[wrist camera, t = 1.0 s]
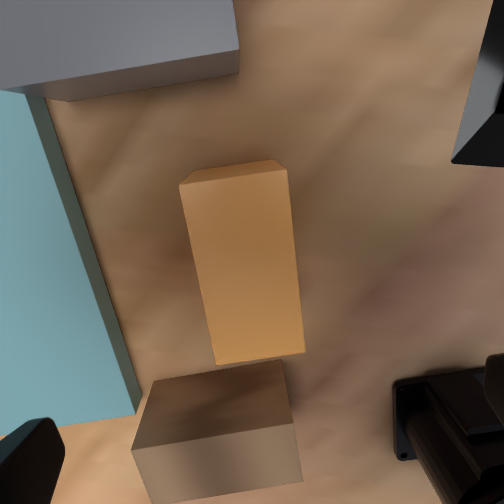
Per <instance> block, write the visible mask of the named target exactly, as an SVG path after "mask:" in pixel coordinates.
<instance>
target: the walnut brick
mask: <svg viewBox="0 0 504 504" xmlns="http://www.w3.org/2000/svg"><path fill="white" fill-rule="evenodd" d="M131 452H132V455H133V457H134V460H135V462H136V465H137V467H138V470H139V472H140V475H141V478H142V480H143V483H144V485H145V488H146V490H147V493H148V495H149V498H150V500H151V503H152V504H170V503H176V502H182V501H188V500H194V499H200V498H206V497H213V496H219V495H225V494H231V493H237V492H243V491H249V490H255V489H261V488H267V487H273V486H279V485H285V484H291V483H297V482H303V476H302V470H301V464H300V459H299V453H298V447H297V441H296V435H295V430H294V424H293V418H292V413H291V408H290V403H289V398H288V393H287V388H286V382H285V377H284V372H283V367H282V362H281V359H280V360H274V361H268V362H263V363H257V364H251V365H245V366H239V367H234V368H228V369H222V370H216V371H210V372H205V373H199V374H193V375H187V376H181V377H176V378H170V379H164V380H158V381H154V382H153V385H152V388H151V391H150V394H149V397H148V400H147V403H146V406H145V409H144V412H143V415H142V418H141V421H140V424H139V427H138V430H137V433H136V436H135V439H134V442H133V445H132V448H131Z"/></svg>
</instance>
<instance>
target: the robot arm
mask: <svg viewBox="0 0 504 504" xmlns="http://www.w3.org/2000/svg"><path fill="white" fill-rule="evenodd" d="M403 388H404V389H403ZM401 389H403V390H401ZM393 417H394V453H395V455H396V457H397V459H398V460H400V461H406V460H413V459H418V460H419V462H420V464H421V466H422V468H423V469H424V471H425V473H426V475H427V477H428V478H429V480H430V482H431V484H432V486H433V487H434V489H435V491H436V493H437V495H438V496H439V498H440V500H441V502H442V504H504V353H500V354H493V355H490V356H488V358H487V359H486V365H485V368H480V369H473V370H467V371H460V372H454V373H447V374H441V375H434V376H428V377H422V378H415V379H409V380H402V381H398V382H397V383H395V384H394V386H393ZM64 457H65V446H64V443H63V441H62V438H61V436H60V434H59V431H58V429H57V427H56V424H55V422H54V420H53V419H51V418H50V417H43V418H36V419H31V420H28V421H26V422H25V423H24V424H22V425H21V426H19V427H18V428H17V429H15V430H14V431H13V432H11V433H10V434H9V435H7V436H6V437H5V438H3V439H2V440H0V504H50V503H51V500H52V496H53V493H54V490H55V487H56V484H57V480H58V477H59V474H60V471H61V468H62V464H63V461H64Z"/></svg>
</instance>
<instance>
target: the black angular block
mask: <svg viewBox="0 0 504 504" xmlns="http://www.w3.org/2000/svg"><path fill="white" fill-rule="evenodd" d="M451 162H452V163H453V164H462V165H476V166H490V167H504V0H493V4H492V8H491V11H490V15H489V19H488V23H487V27H486V30H485V34H484V38H483V42H482V45H481V49H480V53H479V57H478V61H477V64H476V68H475V72H474V76H473V79H472V83H471V87H470V91H469V95H468V98H467V102H466V106H465V110H464V113H463V117H462V121H461V125H460V129H459V132H458V136H457V140H456V144H455V147H454V151H453V155H452V159H451Z"/></svg>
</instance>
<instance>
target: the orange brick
mask: <svg viewBox="0 0 504 504" xmlns="http://www.w3.org/2000/svg"><path fill="white" fill-rule="evenodd" d="M178 186H179V191H180V196H181V200H182V205H183V210H184V215H185V219H186V224H187V229H188V234H189V238H190V243H191V248H192V252H193V257H194V262H195V267H196V271H197V276H198V281H199V286H200V290H201V295H202V300H203V305H204V309H205V314H206V319H207V324H208V328H209V333H210V338H211V343H212V347H213V352H214V357H215V362H216V365H222V364H229V363H236V362H243V361H250V360H256V359H263V358H270V357H277V356H284V355H291V354H298V353H305V352H306V351H305V341H304V331H303V322H302V312H301V302H300V293H299V283H298V273H297V263H296V254H295V244H294V234H293V225H292V215H291V205H290V196H289V186H288V176H287V169H286V168H284V167H283V166H282V165H280V164H279V163H278V162H276V161H275V160H273V159H272V160H265V161H258V162H251V163H245V164H238V165H231V166H224V167H218V168H211V169H204V170H197V171H193V172H192V173H191V174H190V175H189V176H188V177H187V178H186V179H185V180H183V181H182V182H181V183H180V184H179V185H178Z"/></svg>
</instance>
